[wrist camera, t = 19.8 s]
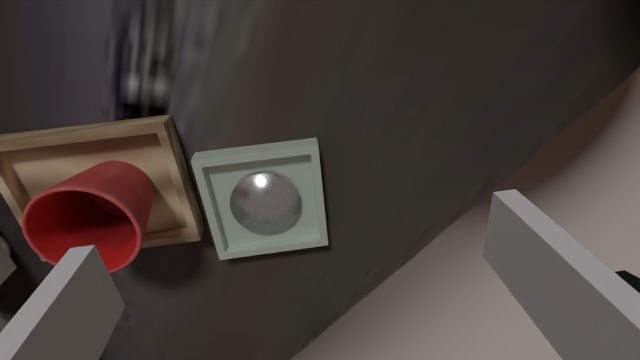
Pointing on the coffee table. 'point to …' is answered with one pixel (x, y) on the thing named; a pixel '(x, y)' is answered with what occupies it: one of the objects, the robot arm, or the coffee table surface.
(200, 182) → the pale green square tray
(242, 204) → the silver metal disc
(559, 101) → the coffee table surface
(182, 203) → the wooden tray
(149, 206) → the flower pot
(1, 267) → the white faceted planter
